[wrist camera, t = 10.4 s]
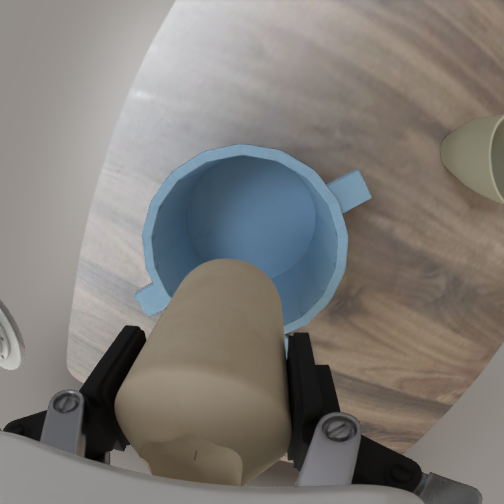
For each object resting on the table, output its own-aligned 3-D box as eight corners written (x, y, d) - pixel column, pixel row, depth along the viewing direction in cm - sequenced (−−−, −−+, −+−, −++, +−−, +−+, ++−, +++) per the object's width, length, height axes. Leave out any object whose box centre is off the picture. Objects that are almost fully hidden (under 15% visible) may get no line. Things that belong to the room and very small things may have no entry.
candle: (302, 311, 16) (334, 479, 7) (226, 363, 17) (200, 518, 8) (231, 234, 15) (177, 374, 5) (157, 299, 16) (68, 441, 7)
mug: (448, 209, 32) (509, 236, 21) (413, 137, 30) (475, 137, 19) (499, 168, 30) (561, 181, 19) (470, 100, 28) (533, 92, 16)
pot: (137, 208, 34) (86, 234, 23) (299, 109, 30) (316, 88, 19) (209, 315, 38) (190, 375, 27) (364, 234, 34) (404, 271, 23)
